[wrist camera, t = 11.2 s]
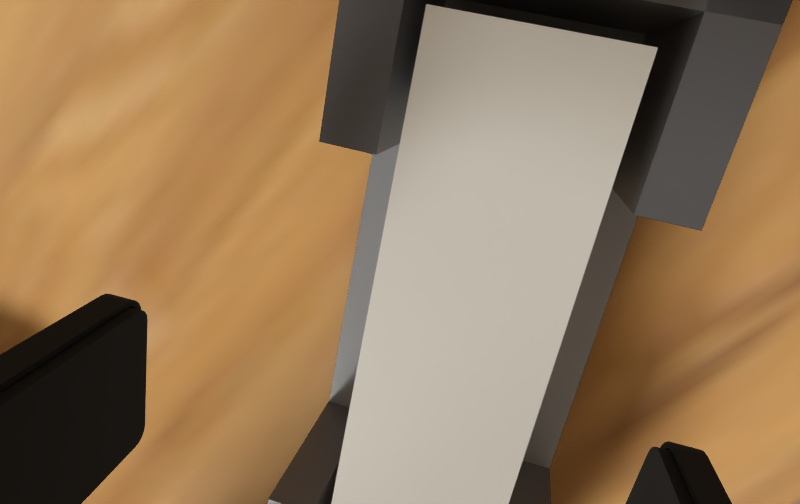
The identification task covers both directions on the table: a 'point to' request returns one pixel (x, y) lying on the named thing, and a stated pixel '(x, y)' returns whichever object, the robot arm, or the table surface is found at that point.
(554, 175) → the beige rectangular block
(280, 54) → the table surface
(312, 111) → the table surface
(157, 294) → the table surface
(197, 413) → the table surface
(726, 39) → the endcap jig
